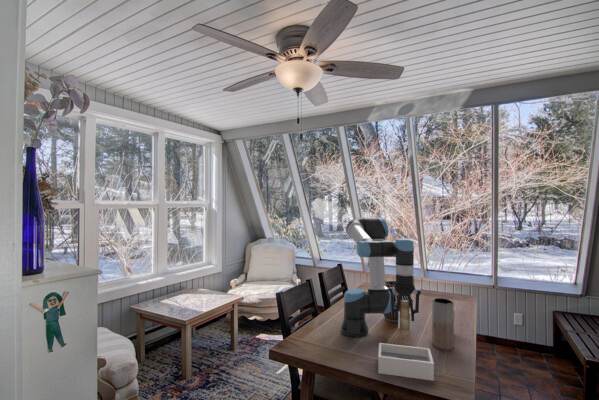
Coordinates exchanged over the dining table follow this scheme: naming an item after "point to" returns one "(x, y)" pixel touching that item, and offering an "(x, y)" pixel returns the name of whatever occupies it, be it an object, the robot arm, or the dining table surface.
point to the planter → (443, 323)
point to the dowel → (404, 318)
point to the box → (405, 361)
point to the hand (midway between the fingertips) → (404, 327)
